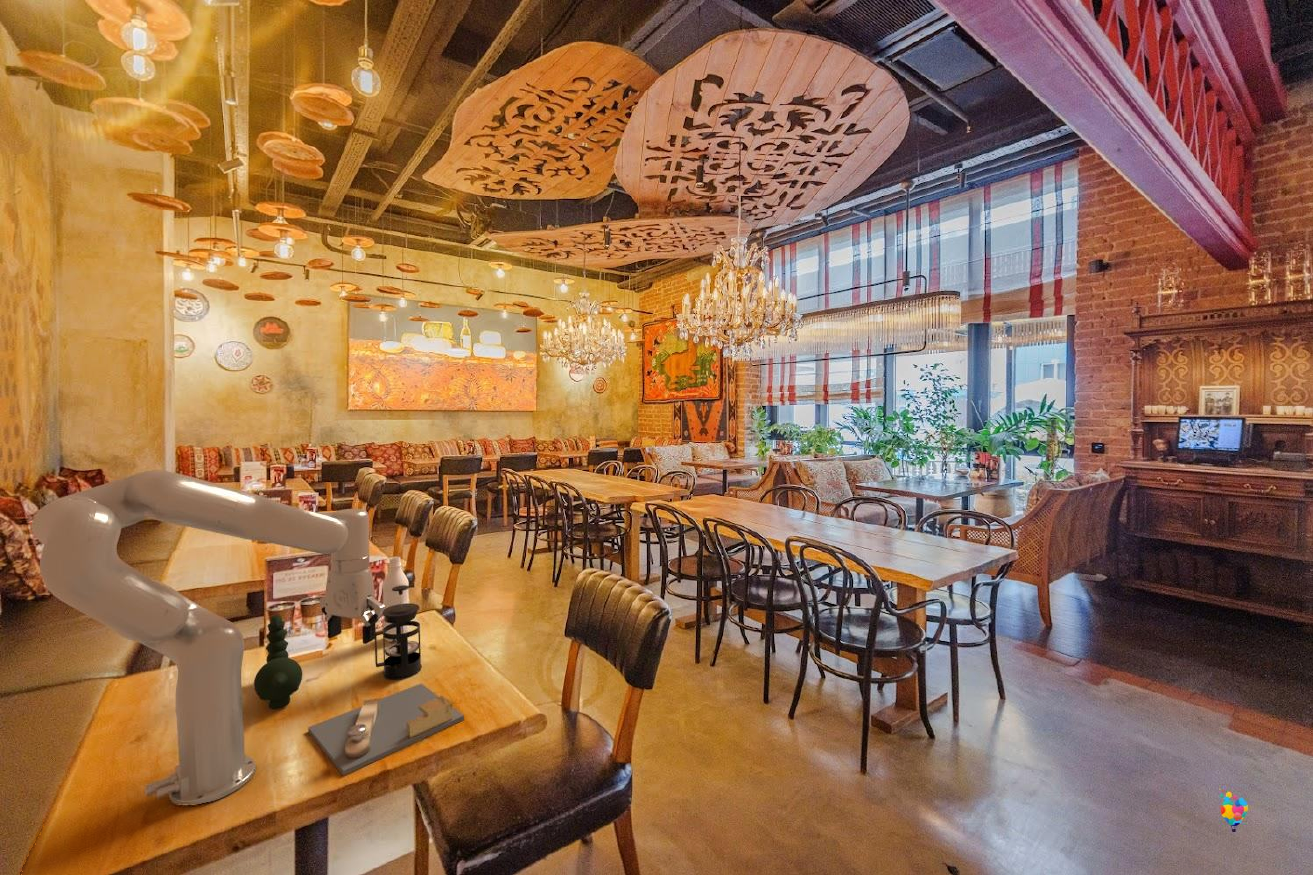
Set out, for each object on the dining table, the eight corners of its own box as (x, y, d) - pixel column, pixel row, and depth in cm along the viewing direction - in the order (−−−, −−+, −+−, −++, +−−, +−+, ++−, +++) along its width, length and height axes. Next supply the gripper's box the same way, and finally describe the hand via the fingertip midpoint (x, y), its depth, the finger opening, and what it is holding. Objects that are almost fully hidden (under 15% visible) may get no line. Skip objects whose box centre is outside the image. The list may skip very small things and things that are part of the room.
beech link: (367, 755, 109) (367, 744, 109) (343, 760, 108) (342, 749, 107) (382, 707, 126) (382, 697, 126) (361, 710, 125) (360, 700, 125)
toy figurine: (256, 687, 140) (254, 726, 120) (253, 614, 140) (250, 640, 120) (300, 677, 145) (305, 712, 125) (297, 606, 146) (301, 630, 125)
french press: (421, 658, 152) (419, 578, 151) (427, 673, 145) (425, 588, 143) (374, 669, 146) (371, 585, 145) (377, 685, 138) (375, 596, 137)
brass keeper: (410, 738, 115) (409, 721, 115) (400, 730, 118) (400, 713, 118) (452, 719, 122) (452, 702, 122) (442, 711, 125) (442, 695, 125)
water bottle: (399, 645, 161) (397, 562, 159) (378, 642, 162) (376, 560, 161) (415, 634, 168) (413, 555, 166) (394, 632, 169) (392, 553, 168)
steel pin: (351, 746, 108) (351, 735, 108) (345, 739, 110) (345, 729, 110) (368, 739, 110) (368, 728, 110) (362, 732, 113) (362, 722, 112)
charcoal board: (343, 775, 105) (343, 770, 105) (308, 731, 119) (308, 727, 119) (464, 719, 124) (463, 715, 123) (421, 687, 137) (421, 683, 137)
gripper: (305, 565, 122) (307, 640, 123) (369, 572, 117) (370, 650, 118) (334, 556, 129) (335, 627, 130) (394, 563, 124) (395, 636, 125)
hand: (351, 638), depth 124 cm, fingers open, 9 cm apart
